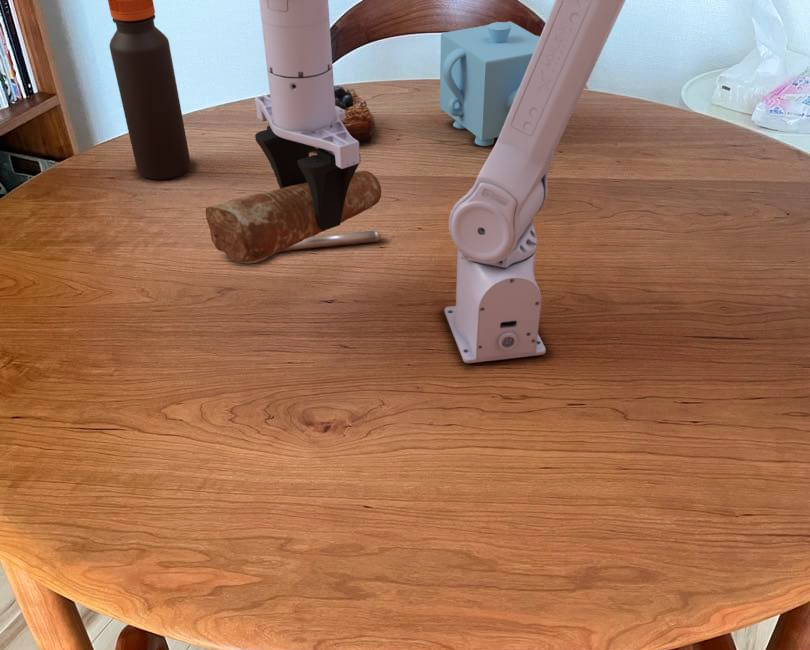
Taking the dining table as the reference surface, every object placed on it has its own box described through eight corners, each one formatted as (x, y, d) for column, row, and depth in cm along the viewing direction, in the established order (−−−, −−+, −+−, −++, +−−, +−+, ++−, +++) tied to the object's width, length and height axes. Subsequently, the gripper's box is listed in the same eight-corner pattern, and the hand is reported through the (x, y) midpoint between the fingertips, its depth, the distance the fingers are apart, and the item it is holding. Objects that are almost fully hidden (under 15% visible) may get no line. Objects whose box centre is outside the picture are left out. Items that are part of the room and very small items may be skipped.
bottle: (175, 184, 113) (139, 4, 99) (127, 176, 115) (86, -1, 100) (200, 162, 117) (170, -13, 103) (154, 155, 119) (118, -18, 105)
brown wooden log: (204, 253, 87) (196, 197, 82) (359, 193, 95) (359, 140, 91) (242, 282, 84) (236, 226, 79) (398, 218, 92) (400, 164, 88)
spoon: (383, 250, 101) (383, 240, 100) (230, 265, 99) (229, 255, 98) (377, 231, 104) (376, 221, 103) (228, 245, 102) (227, 235, 101)
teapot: (422, 123, 125) (423, 19, 116) (520, 103, 130) (528, 2, 121) (484, 174, 114) (490, 64, 105) (590, 150, 118) (604, 43, 109)
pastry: (277, 124, 126) (272, 79, 122) (360, 112, 128) (358, 68, 124) (294, 155, 119) (289, 109, 114) (382, 143, 121) (381, 97, 117)
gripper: (385, 79, 77) (389, 230, 86) (294, 35, 85) (307, 178, 95) (315, 99, 74) (328, 253, 83) (228, 52, 82) (248, 197, 92)
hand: (313, 215), depth 89 cm, fingers closed on brown wooden log, 5 cm apart
